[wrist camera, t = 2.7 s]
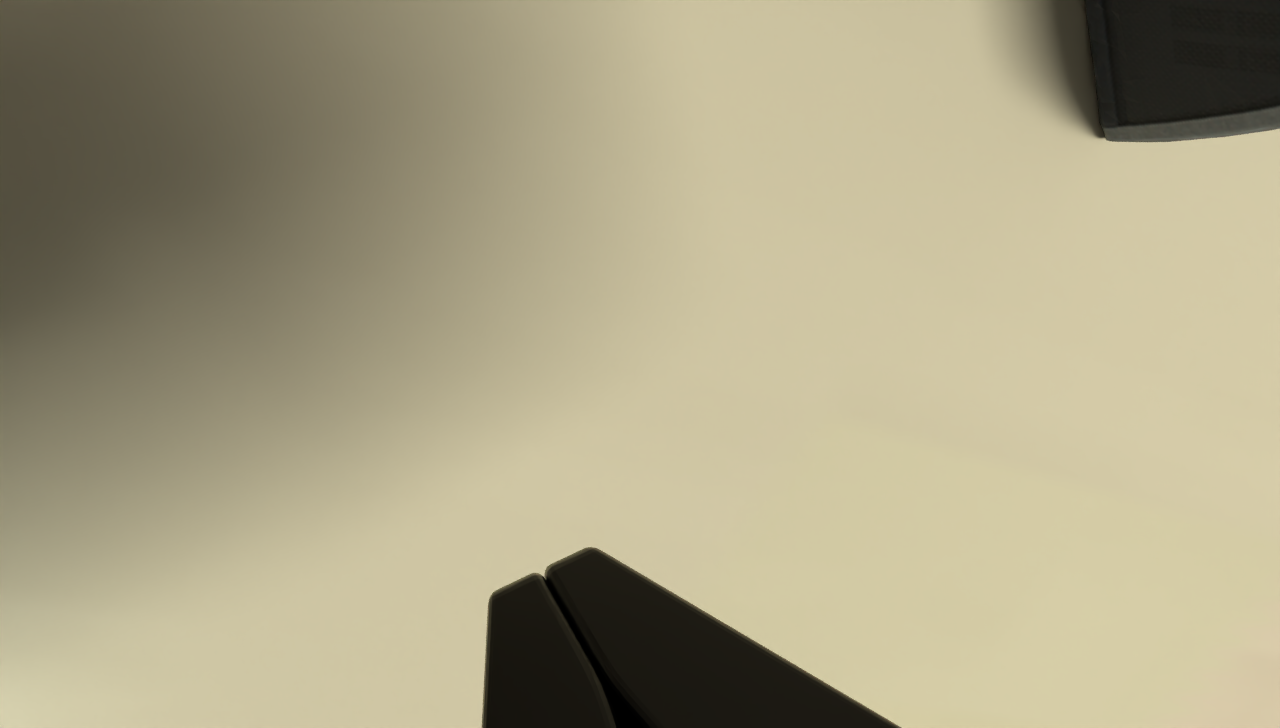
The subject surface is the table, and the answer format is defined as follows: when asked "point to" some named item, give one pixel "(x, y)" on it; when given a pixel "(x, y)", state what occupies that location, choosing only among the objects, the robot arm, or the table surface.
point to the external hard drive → (1185, 67)
